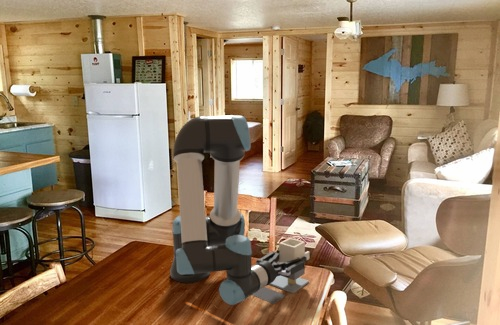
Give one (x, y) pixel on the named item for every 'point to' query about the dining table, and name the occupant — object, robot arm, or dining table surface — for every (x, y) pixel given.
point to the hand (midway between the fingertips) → (300, 252)
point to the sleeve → (291, 253)
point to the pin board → (286, 286)
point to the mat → (269, 295)
